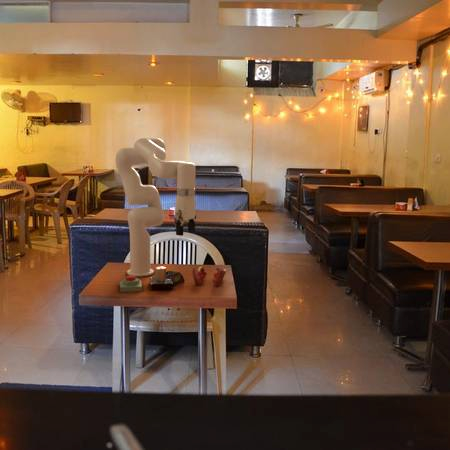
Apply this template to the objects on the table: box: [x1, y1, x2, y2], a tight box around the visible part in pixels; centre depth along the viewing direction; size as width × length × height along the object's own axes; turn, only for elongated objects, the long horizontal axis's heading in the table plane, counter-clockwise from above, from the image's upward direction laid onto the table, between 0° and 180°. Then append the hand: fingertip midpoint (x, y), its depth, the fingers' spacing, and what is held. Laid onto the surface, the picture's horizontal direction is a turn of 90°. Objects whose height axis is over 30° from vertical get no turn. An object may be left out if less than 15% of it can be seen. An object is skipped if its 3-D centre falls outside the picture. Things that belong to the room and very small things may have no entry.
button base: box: [119, 277, 143, 293], centre depth 221 cm, size 10×9×4 cm
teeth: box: [192, 266, 227, 287], centre depth 232 cm, size 10×8×15 cm
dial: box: [155, 266, 167, 281], centre depth 224 cm, size 4×4×6 cm
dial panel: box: [149, 276, 173, 292], centre depth 225 cm, size 11×9×3 cm
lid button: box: [125, 275, 136, 281], centre depth 221 cm, size 4×4×2 cm
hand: (185, 233), depth 215 cm, fingers open, 9 cm apart
